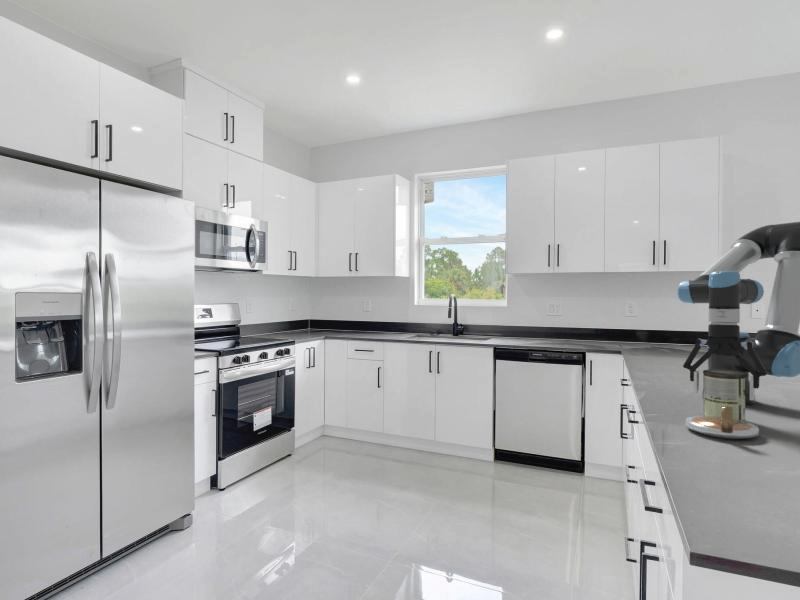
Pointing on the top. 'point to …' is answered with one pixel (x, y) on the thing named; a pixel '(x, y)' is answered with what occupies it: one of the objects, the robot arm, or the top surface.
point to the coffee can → (724, 392)
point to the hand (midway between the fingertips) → (723, 396)
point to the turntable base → (724, 437)
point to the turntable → (723, 425)
